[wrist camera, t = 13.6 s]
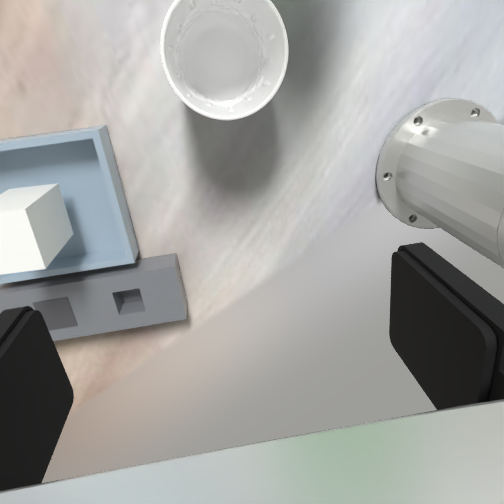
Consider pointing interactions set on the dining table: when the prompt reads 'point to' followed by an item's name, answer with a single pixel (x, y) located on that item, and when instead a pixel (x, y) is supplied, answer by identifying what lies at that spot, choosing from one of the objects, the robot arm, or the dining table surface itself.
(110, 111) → the dining table surface
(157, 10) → the dining table surface
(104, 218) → the tray
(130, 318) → the strip
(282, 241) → the dining table surface
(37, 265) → the block
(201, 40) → the white cup
